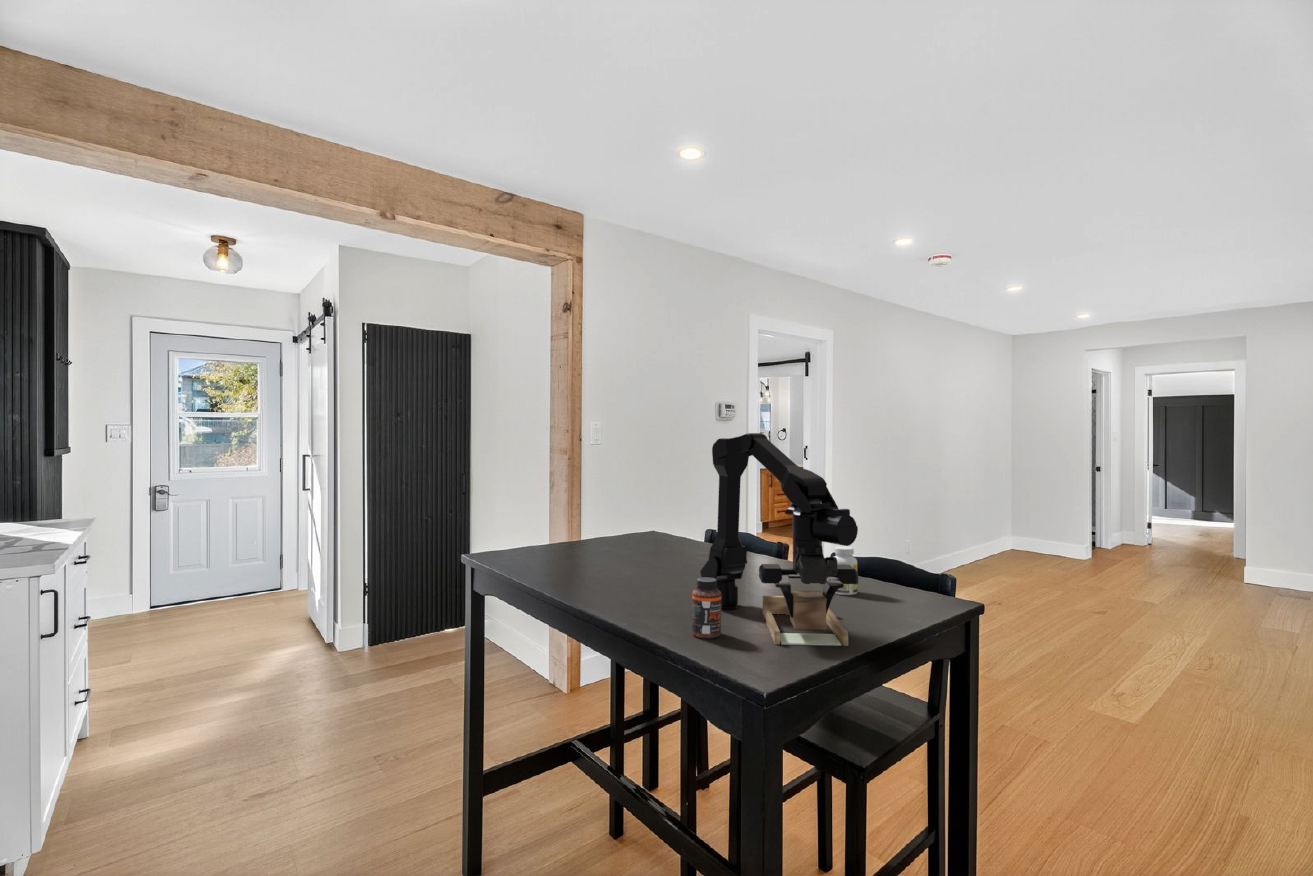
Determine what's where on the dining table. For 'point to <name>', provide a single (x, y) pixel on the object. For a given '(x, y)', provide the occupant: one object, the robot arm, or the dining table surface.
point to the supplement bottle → (706, 609)
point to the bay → (780, 607)
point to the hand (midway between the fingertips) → (807, 617)
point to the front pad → (808, 639)
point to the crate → (808, 610)
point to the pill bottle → (846, 558)
